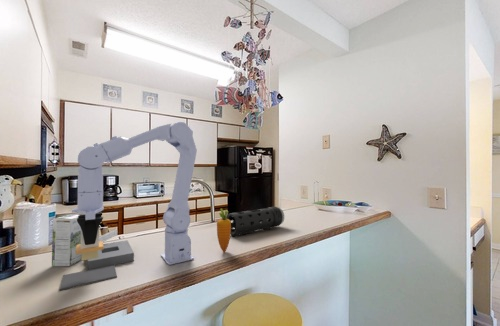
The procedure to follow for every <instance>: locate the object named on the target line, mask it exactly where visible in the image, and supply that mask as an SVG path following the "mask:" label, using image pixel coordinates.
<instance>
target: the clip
mask: <svg viewBox="0 0 500 326" xmlns="http://www.w3.org/2000/svg"><path fill="white" fill-rule="evenodd" d="M116 236H118V229H114V230H110V231H109V232H107V233H104V234H102V235H99V241H103V243H104V242H106V241H108V240H110V239H112V238H114V237H116Z"/></svg>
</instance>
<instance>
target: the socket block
mask: <svg viewBox="0 0 500 326" xmlns="http://www.w3.org/2000/svg"><path fill="white" fill-rule="evenodd" d="M103 246H104V249H103V250H98V258H94V259H88V260H87V270H91V269H95V268H100V267H105V266H110V265H114V266H115V265H120V264H124V263H125V264H126V263H129V262H134V261H135V251H134V250H133V248H132V246H131V245H130V243H129V241H128V240H127V239H126V240H120V241H116V242H115V241H114V242H108V243H103Z"/></svg>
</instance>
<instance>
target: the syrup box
mask: <svg viewBox="0 0 500 326" xmlns="http://www.w3.org/2000/svg"><path fill="white" fill-rule="evenodd" d="M79 215H80V214H68V215H63V216H59V217H54V218H53V219H52V239H51V241H52V243H51V244H52V245H51V267H70V266H73V265H75V264H76V263H79V262H80V261H81V256H82V253H80V254H76V246H77V245H78V244H81V227H80V225H79V224H78V222H77V218H78V216H79Z"/></svg>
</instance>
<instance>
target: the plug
mask: <svg viewBox="0 0 500 326" xmlns="http://www.w3.org/2000/svg"><path fill="white" fill-rule="evenodd" d="M99 237H100V227H99V228H98V232H97V237H96V241H95V244H90V245H85V243H84V238H83V233H82V230H81V244H78V245H77V246H76V254H80V253H82V256H81V261H82V262H83V261H88V259H94V258H98V250H103V249H104V246H103V244H104V242H103V241H99Z"/></svg>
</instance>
